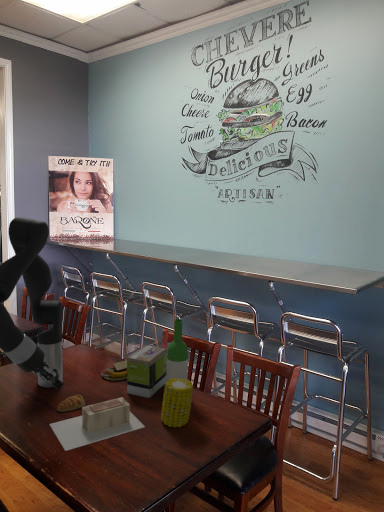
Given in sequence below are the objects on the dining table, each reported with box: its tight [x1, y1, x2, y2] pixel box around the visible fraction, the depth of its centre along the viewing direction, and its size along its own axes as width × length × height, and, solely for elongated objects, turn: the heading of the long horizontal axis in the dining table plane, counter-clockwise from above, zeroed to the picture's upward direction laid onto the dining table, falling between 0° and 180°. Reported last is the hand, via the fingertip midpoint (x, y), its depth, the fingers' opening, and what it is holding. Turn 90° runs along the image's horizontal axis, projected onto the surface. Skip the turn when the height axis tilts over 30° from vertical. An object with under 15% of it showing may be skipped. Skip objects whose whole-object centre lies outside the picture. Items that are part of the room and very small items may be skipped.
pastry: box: [56, 393, 86, 413], centre depth 152 cm, size 9×7×4 cm
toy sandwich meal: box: [100, 359, 127, 382], centre depth 180 cm, size 12×14×5 cm
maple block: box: [81, 396, 131, 433], centre depth 142 cm, size 6×6×14 cm
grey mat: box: [49, 411, 146, 452], centre depth 141 cm, size 17×26×1 cm, turn 123°
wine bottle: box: [166, 318, 189, 382], centre depth 161 cm, size 8×8×30 cm
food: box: [160, 378, 194, 428], centre depth 144 cm, size 15×12×10 cm
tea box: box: [126, 344, 168, 399], centre depth 168 cm, size 15×10×15 cm, turn 157°
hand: (60, 386), depth 133 cm, fingers closed
